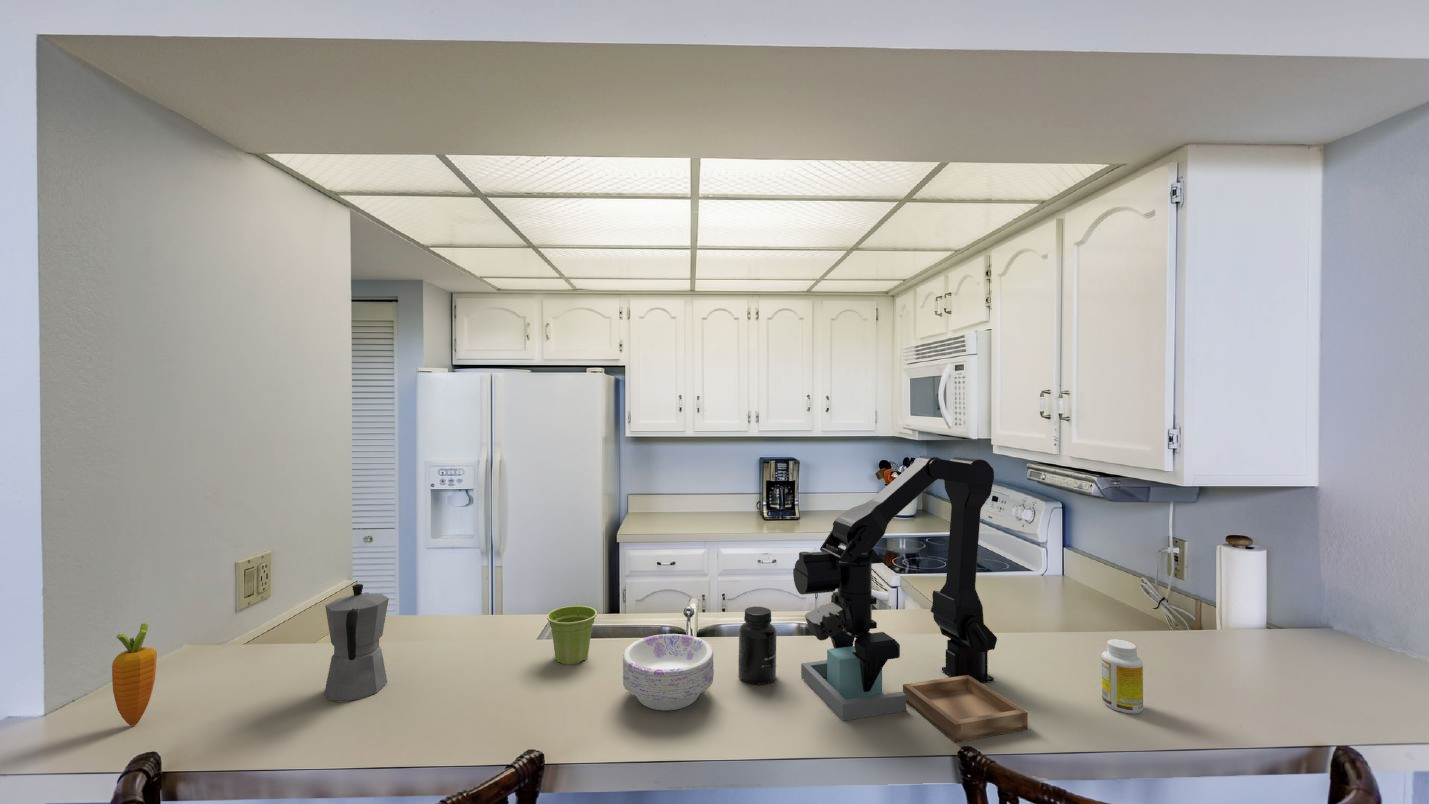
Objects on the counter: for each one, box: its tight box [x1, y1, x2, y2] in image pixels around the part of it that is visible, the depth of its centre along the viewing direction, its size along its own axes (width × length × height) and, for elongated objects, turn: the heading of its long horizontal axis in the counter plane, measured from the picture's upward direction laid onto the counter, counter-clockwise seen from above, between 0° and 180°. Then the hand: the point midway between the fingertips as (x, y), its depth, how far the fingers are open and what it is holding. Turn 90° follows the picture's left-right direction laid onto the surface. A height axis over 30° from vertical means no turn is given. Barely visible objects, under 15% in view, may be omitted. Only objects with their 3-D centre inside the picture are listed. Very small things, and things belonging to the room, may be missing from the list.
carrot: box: [111, 622, 158, 726], centre depth 89 cm, size 5×5×15 cm
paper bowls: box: [622, 633, 715, 712], centre depth 98 cm, size 15×15×8 cm
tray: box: [902, 675, 1029, 743], centre depth 93 cm, size 13×13×3 cm
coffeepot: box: [324, 583, 389, 703], centre depth 100 cm, size 15×9×18 cm, turn 25°
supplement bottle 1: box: [737, 606, 777, 685], centre depth 106 cm, size 7×7×12 cm
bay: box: [800, 659, 907, 722], centre depth 100 cm, size 11×15×2 cm
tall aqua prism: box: [826, 645, 883, 700], centre depth 100 cm, size 9×4×7 cm, turn 106°
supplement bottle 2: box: [1101, 638, 1144, 715], centre depth 96 cm, size 6×6×10 cm
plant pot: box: [546, 605, 598, 666], centre depth 113 cm, size 9×9×9 cm
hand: (854, 680), depth 100 cm, fingers open, 8 cm apart
